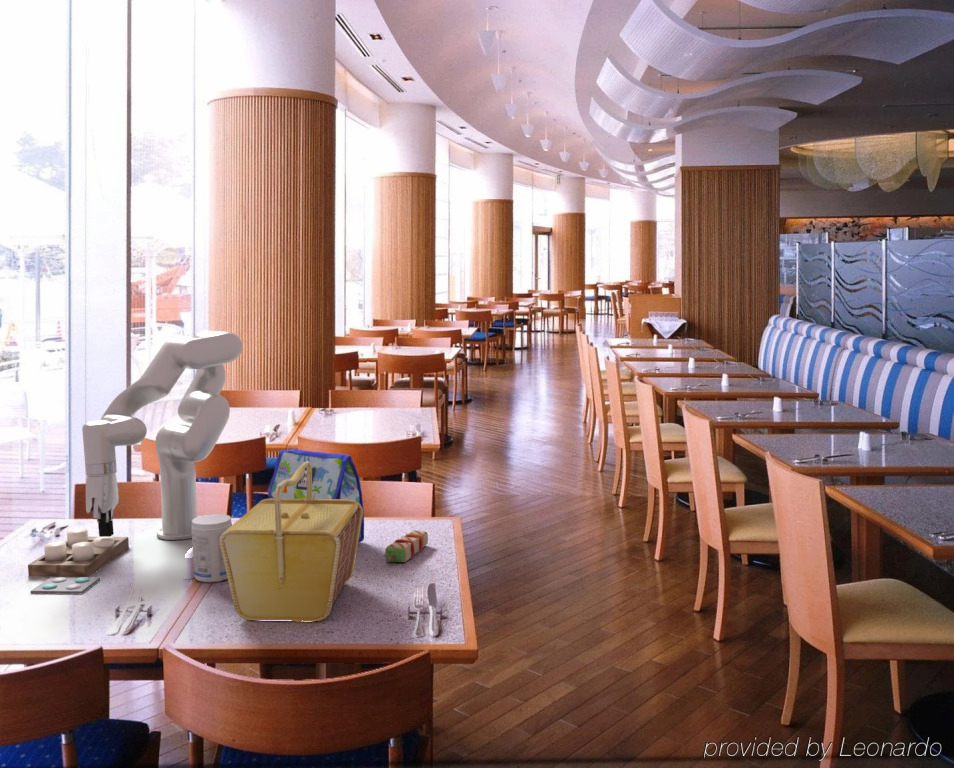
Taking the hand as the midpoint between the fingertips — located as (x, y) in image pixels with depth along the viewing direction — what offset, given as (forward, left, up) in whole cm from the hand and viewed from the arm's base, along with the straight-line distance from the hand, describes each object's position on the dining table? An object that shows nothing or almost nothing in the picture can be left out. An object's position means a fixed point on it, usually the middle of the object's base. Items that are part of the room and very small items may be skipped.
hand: (106, 535), depth 241 cm
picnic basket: (-58, +34, -5) cm, 67 cm away
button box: (+4, +7, -5) cm, 9 cm away
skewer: (-79, 0, -5) cm, 79 cm away
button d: (+7, +13, -2) cm, 15 cm away
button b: (+7, +1, -2) cm, 8 cm away
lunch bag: (-54, -9, -5) cm, 55 cm away
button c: (0, +13, -2) cm, 13 cm away
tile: (-1, +25, -5) cm, 26 cm away
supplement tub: (-34, +18, -5) cm, 39 cm away
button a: (0, +1, -5) cm, 5 cm away
